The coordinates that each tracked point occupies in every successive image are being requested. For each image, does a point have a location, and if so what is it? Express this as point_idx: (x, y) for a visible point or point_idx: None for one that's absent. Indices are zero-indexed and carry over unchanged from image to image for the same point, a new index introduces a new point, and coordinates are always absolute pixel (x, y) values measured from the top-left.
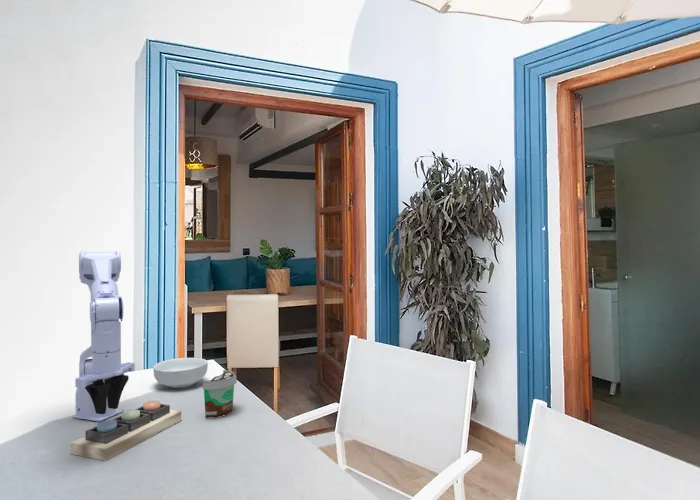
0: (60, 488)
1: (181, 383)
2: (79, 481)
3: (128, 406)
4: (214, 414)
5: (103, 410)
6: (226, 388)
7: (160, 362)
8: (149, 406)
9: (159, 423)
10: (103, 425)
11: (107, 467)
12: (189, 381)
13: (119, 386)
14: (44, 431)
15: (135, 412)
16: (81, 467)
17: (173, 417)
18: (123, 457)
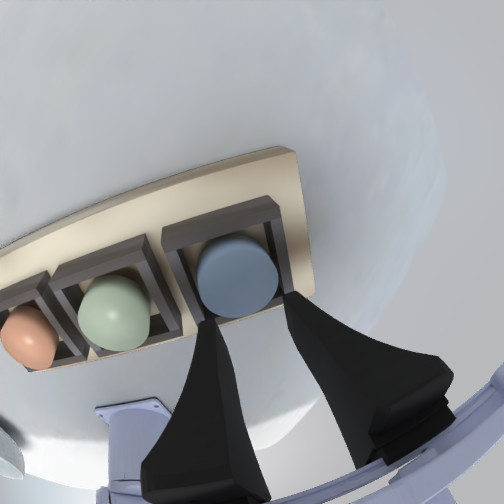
0: (412, 110)
1: None
2: (381, 98)
3: (78, 420)
4: None
5: (305, 298)
6: None
7: (13, 478)
8: (36, 331)
9: (34, 239)
10: (264, 271)
11: (303, 100)
12: None
13: (226, 421)
14: (257, 410)
15: (97, 312)
16: (338, 168)
17: None
18: (233, 120)
